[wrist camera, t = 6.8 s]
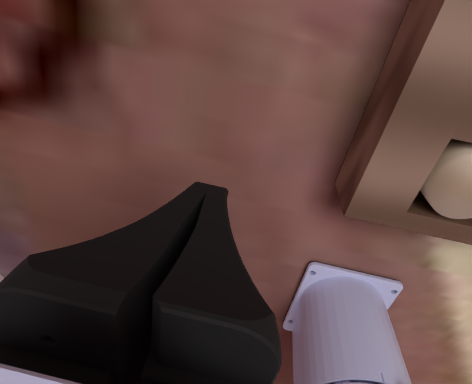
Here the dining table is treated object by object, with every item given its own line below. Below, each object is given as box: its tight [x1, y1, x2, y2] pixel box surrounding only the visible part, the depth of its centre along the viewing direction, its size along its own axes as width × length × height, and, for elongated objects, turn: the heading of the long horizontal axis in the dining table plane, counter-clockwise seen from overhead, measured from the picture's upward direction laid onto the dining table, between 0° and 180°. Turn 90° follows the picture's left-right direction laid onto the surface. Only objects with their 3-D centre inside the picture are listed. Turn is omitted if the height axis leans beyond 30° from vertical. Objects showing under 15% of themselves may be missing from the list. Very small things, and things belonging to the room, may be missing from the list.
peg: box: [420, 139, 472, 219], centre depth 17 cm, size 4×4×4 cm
